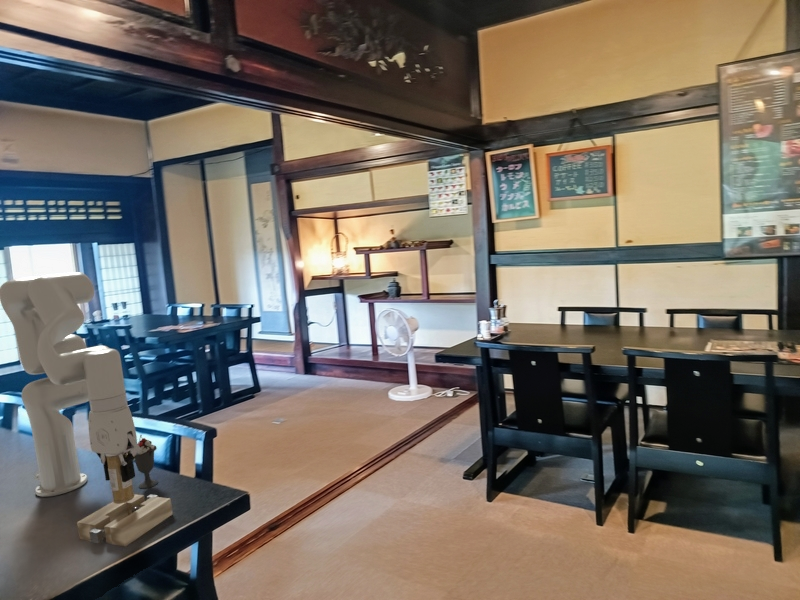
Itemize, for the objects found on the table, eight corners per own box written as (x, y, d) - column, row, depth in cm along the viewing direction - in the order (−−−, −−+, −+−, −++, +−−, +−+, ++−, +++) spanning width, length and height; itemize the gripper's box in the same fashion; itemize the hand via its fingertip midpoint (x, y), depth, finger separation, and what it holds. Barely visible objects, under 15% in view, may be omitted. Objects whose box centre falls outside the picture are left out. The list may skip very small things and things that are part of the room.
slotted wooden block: (79, 538, 123) (77, 522, 123) (129, 508, 136) (127, 493, 136) (125, 546, 118) (122, 529, 118) (172, 514, 131) (170, 498, 131)
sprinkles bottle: (135, 499, 126) (127, 444, 124) (114, 506, 123) (104, 450, 122) (133, 493, 130) (124, 439, 128) (112, 499, 127) (103, 445, 126)
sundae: (144, 492, 145) (136, 438, 143) (130, 487, 149) (122, 435, 147) (166, 481, 151) (159, 430, 149) (152, 477, 154) (144, 427, 153)
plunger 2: (129, 517, 130) (128, 507, 129) (151, 503, 136) (150, 494, 136) (137, 518, 129) (135, 508, 128) (159, 504, 135) (157, 495, 135)
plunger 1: (90, 541, 120) (89, 531, 119) (116, 525, 126) (115, 516, 126) (98, 543, 119) (97, 532, 119) (124, 526, 125) (122, 517, 125)
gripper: (67, 407, 124) (80, 483, 126) (122, 409, 117) (135, 488, 119) (96, 397, 130) (107, 469, 132) (149, 398, 124) (160, 474, 126)
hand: (120, 477), depth 126 cm, fingers closed on sprinkles bottle, 4 cm apart
